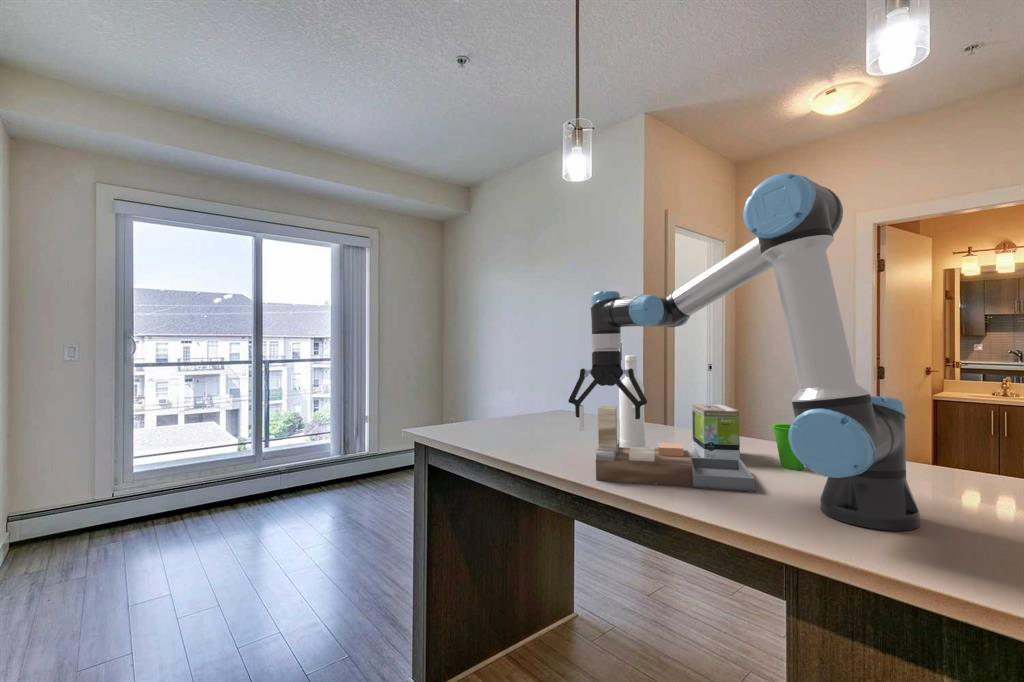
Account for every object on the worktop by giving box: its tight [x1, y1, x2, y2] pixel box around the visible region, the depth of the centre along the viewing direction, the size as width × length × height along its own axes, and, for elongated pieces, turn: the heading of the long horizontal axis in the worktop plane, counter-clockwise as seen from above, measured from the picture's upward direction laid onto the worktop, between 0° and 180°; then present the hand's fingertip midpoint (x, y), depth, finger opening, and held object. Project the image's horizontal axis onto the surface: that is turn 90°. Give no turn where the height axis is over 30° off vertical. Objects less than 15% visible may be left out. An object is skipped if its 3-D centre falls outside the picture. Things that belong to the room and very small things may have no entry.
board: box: [595, 446, 693, 487], centre depth 121 cm, size 16×22×5 cm
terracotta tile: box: [658, 442, 684, 457], centre depth 123 cm, size 6×6×2 cm
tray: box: [690, 456, 756, 493], centre depth 116 cm, size 18×13×3 cm
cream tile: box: [629, 447, 655, 462], centre depth 118 cm, size 6×6×2 cm
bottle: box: [618, 354, 646, 448], centre depth 151 cm, size 8×8×30 cm
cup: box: [771, 422, 805, 471], centre depth 126 cm, size 9×9×11 cm
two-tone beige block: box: [595, 405, 620, 461], centre depth 124 cm, size 16×4×12 cm, turn 163°
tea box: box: [691, 404, 741, 460], centre depth 139 cm, size 15×10×15 cm, turn 171°
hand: (607, 430), depth 124 cm, fingers open, 13 cm apart
